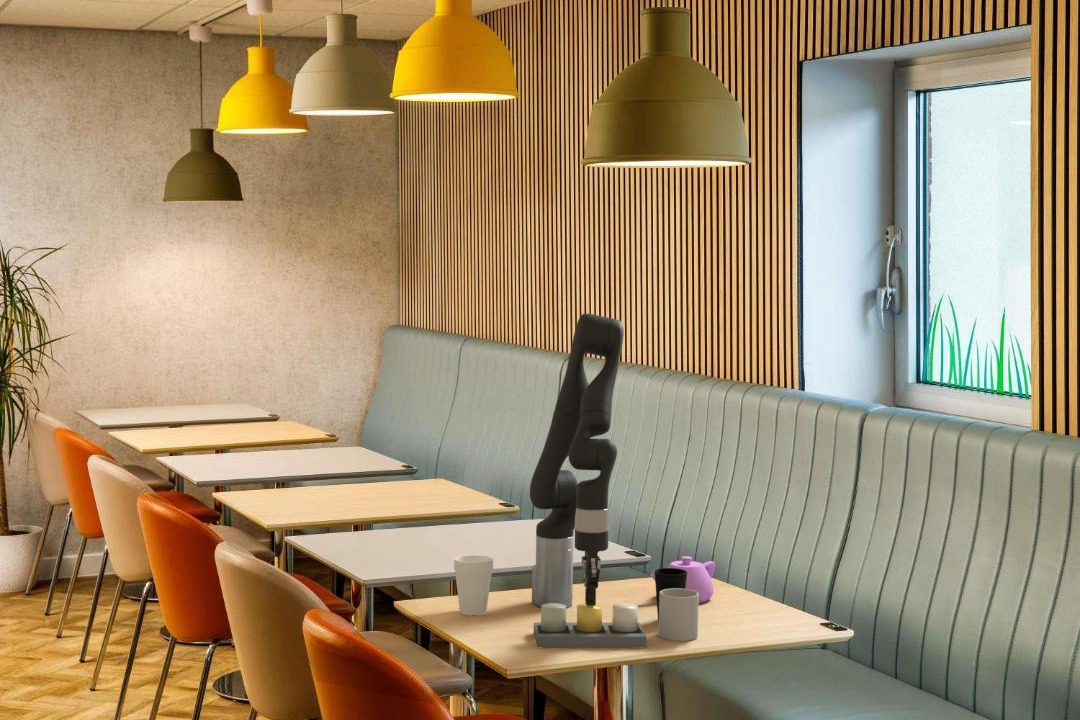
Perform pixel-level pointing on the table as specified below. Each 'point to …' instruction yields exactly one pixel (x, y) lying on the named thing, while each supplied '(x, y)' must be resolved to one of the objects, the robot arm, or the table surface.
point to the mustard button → (589, 618)
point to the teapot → (696, 576)
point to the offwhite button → (625, 617)
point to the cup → (669, 581)
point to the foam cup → (473, 582)
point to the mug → (678, 614)
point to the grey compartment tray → (589, 637)
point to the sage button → (553, 617)
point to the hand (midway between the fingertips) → (590, 604)
